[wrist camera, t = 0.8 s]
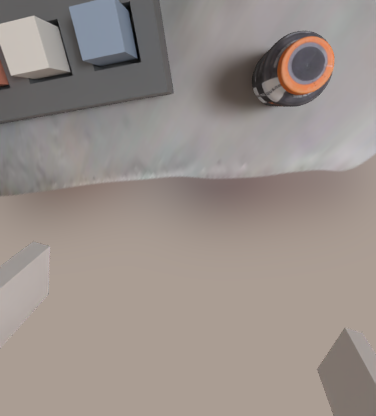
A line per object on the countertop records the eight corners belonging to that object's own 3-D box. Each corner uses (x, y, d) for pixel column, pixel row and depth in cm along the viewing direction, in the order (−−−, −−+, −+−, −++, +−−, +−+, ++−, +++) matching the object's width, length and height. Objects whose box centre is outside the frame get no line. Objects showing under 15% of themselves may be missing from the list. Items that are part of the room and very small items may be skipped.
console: (-47, 24, 32) (-82, 14, 29) (154, -27, 28) (144, -47, 25) (-8, 125, 37) (-33, 127, 33) (173, 93, 32) (167, 91, 29)
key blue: (89, 19, 28) (68, 6, 24) (128, 10, 27) (113, -5, 23) (100, 66, 29) (82, 60, 25) (137, 58, 28) (125, 51, 25)
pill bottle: (260, 114, 32) (278, 118, 22) (244, 63, 30) (257, 42, 20) (310, 93, 31) (356, 88, 20) (297, 39, 29) (340, 3, 18)
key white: (22, 35, 29) (-7, 25, 25) (58, 27, 28) (33, 15, 25) (36, 79, 30) (11, 75, 27) (70, 72, 30) (49, 67, 26)
